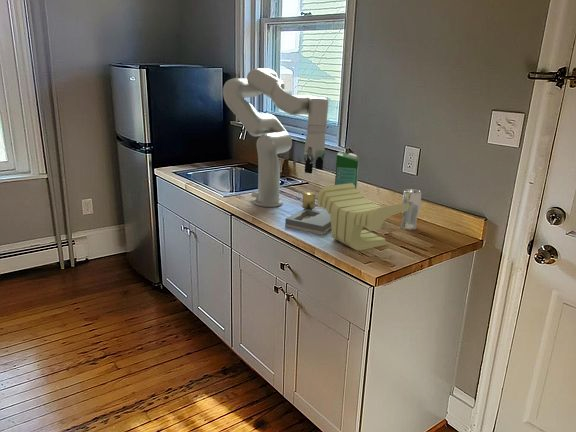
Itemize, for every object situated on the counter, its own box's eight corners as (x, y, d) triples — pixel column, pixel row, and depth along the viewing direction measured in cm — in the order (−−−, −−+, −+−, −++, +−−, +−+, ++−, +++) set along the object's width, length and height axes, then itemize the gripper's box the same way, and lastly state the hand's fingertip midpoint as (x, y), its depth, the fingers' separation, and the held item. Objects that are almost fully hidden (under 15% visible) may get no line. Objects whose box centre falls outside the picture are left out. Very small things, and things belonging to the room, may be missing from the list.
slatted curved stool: (315, 232, 180) (318, 187, 175) (349, 226, 188) (352, 182, 183) (367, 260, 156) (372, 208, 150) (403, 252, 164) (409, 202, 158)
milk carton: (354, 213, 205) (358, 155, 198) (333, 211, 207) (336, 154, 199) (355, 207, 214) (359, 152, 206) (335, 205, 215) (338, 150, 208)
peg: (299, 214, 201) (300, 193, 198) (305, 211, 206) (306, 191, 203) (310, 216, 199) (311, 195, 196) (316, 213, 203) (317, 193, 200)
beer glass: (407, 231, 185) (411, 194, 180) (395, 226, 191) (399, 189, 186) (421, 229, 188) (425, 192, 184) (409, 223, 194) (413, 188, 189)
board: (285, 226, 186) (285, 218, 185) (304, 216, 199) (304, 208, 198) (322, 234, 179) (322, 226, 178) (339, 223, 192) (340, 215, 191)
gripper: (317, 126, 200) (314, 166, 205) (298, 130, 185) (295, 173, 191) (334, 128, 196) (330, 168, 202) (315, 132, 182) (312, 176, 187)
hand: (313, 170), depth 196 cm, fingers open, 9 cm apart
